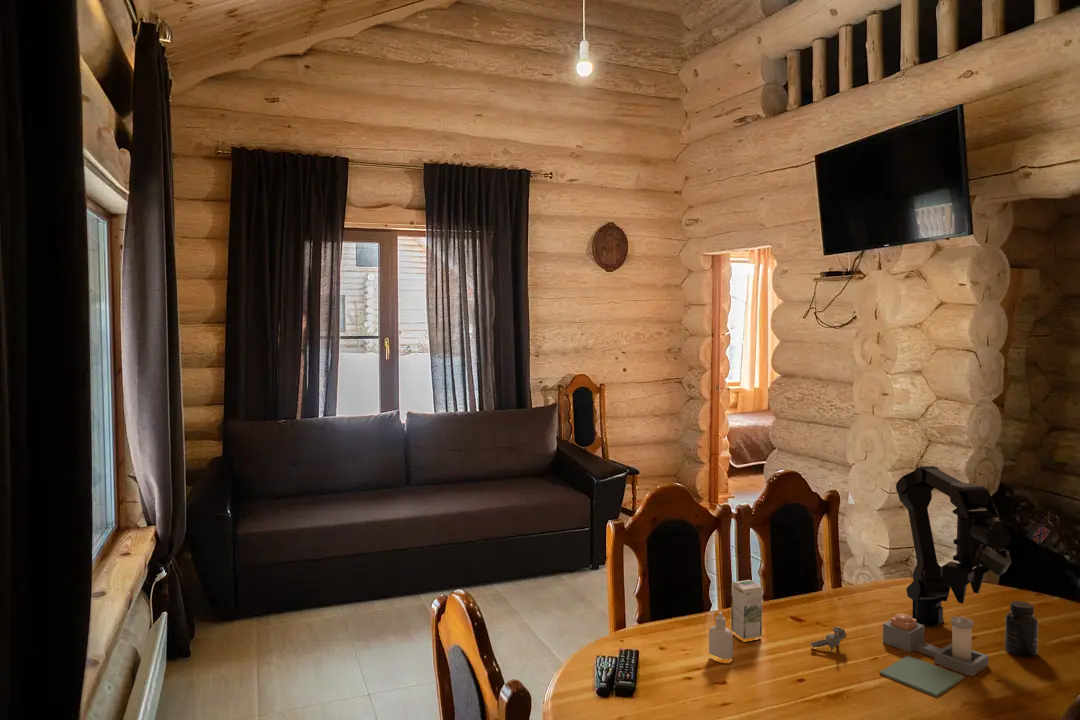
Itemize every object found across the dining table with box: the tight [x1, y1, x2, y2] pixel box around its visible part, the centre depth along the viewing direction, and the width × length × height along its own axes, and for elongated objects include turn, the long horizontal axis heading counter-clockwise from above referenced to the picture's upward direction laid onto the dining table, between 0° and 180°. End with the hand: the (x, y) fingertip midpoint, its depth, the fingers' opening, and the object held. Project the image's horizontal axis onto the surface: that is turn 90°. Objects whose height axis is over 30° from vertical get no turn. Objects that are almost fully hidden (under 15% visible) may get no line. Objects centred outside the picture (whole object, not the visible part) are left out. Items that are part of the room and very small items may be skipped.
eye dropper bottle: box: [708, 611, 734, 660], centre depth 179 cm, size 4×6×12 cm
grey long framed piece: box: [882, 619, 989, 677], centre depth 180 cm, size 22×8×5 cm, turn 36°
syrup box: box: [730, 579, 763, 639], centre depth 191 cm, size 6×6×14 cm
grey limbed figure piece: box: [810, 625, 847, 652], centre depth 183 cm, size 10×6×9 cm
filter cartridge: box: [950, 616, 974, 663], centre depth 175 cm, size 5×5×11 cm
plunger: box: [890, 612, 917, 631], centre depth 186 cm, size 4×4×6 cm
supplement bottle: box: [1004, 600, 1039, 658], centre depth 180 cm, size 7×7×12 cm
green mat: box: [879, 655, 965, 698], centre depth 170 cm, size 13×13×1 cm
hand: (968, 597), depth 181 cm, fingers open, 9 cm apart
